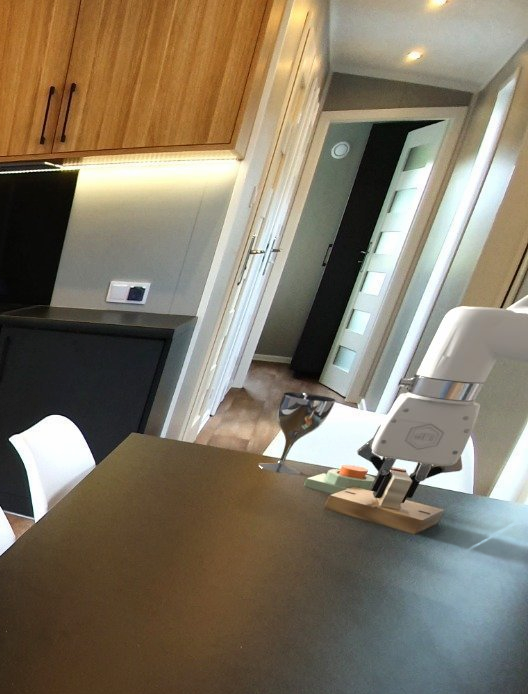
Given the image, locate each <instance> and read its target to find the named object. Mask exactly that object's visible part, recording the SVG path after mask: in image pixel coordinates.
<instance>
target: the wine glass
mask: <svg viewBox="0 0 528 694" xmlns="http://www.w3.org/2000/svg"><path fill="white" fill-rule="evenodd" d="M336 401H337V400H336V399H335V398H333V397H329V396H324V395H322V394H321V395H319V394H314V393H308V392H298V391H297V392H295V391H294V392H292V391H288V392H284V393H283V395H282V398H281V399H280V403H279V405H278V409H277V416H276V418H277V419H276V421H277V423H278V426H279V428H280V430H281V431H282V433H283V436H284V439H285V442H284V448H283V450H282V454H281V456H280V458H279V460H278V461H277V462H259V463H258V464H257V467H259V468H261V469H263V470H266V471H269V472H272V473H273V472H274V473H278V474H284V475H300V474H301V470H299V469H297V468H296V467H295V468H294V467H292V466H290V465H289V466H288V465H287V464H286V463H285V462H286V459H287V457H288V454H289V453H290V451H291V448H292V447H293V446H294V444H296V442H297V441H298V440H300V439H301V438H304V437H306V436H307V435H309V434H311V433H312V432H314V431H316V430H318V429H319V428H320V427H322V425H323V424H324V422H325V421H326V420H327V418H328V417H329V415H330V414H331V411H332V410H333V408H334V406H335V403H336Z"/></svg>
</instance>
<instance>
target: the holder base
mask: <svg viewBox="0 0 528 694" xmlns="http://www.w3.org/2000/svg"><path fill="white" fill-rule="evenodd" d="M323 509H326V510H328V511H331V512H336V513H338V514H343V515H346V516H350V517H354V518H356V519H360V520H364V521H366V522H371V523H375V524H378V525H381V526H385V527H389V528H392V529H395V530H400V531H403V532H406V533H409V534H413V535H416V534H418V533H420V532H422V531H425V530H426V529H428V528H430V527H432V526H434V525H437V524H438V523H439V521H440V518H442V516H443V514H444V512H445V509H443V508H439V507H436V506H431V505H427V504H424V503H419V502H416V501H412V500H408V499H406V500H405V502H404V503H401V504H400V506H399V508H398V509H393V508H387V507H382V506H380V505H379V502H378V500H377V498H374V495H373V491H369V490H365V489H361V488H357V487H352V488H349V489H346V490H343V491H340V492H337V493H335V494H329V495H328V498H327V500H326V502H325V504H324V507H323Z"/></svg>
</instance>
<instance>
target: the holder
mask: <svg viewBox="0 0 528 694" xmlns="http://www.w3.org/2000/svg"><path fill="white" fill-rule="evenodd" d="M390 472H391V473H390V476H391V479H390V481H389V483H388V485H387V487H386V489H385V491H384V492H383V494H382V496H381V498H377V500H378V502H379V505H380V506H382V507H387V508H393V509H398V508H399V506H400V504H401V502H402V500H403V499H404V497H405V495H406V493H407V491H408V489H409V487H410V485H411V483H412V480H411V478H410V477H409V476H410V474H409V473H408V472H407V469H405V468H400V467H393V466H392V468H391V470H390Z"/></svg>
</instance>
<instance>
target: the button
mask: <svg viewBox="0 0 528 694" xmlns="http://www.w3.org/2000/svg"><path fill="white" fill-rule="evenodd" d="M340 469H341V470H340V472H339V474H341V475H343V476H347V477H351V478H358V479H364V478H365V476H366V474H367V475H368V472H369V470H368V469H367V468H365V467H361V466H358V465H351V464H343V465H342V466H341V468H340Z"/></svg>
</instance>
